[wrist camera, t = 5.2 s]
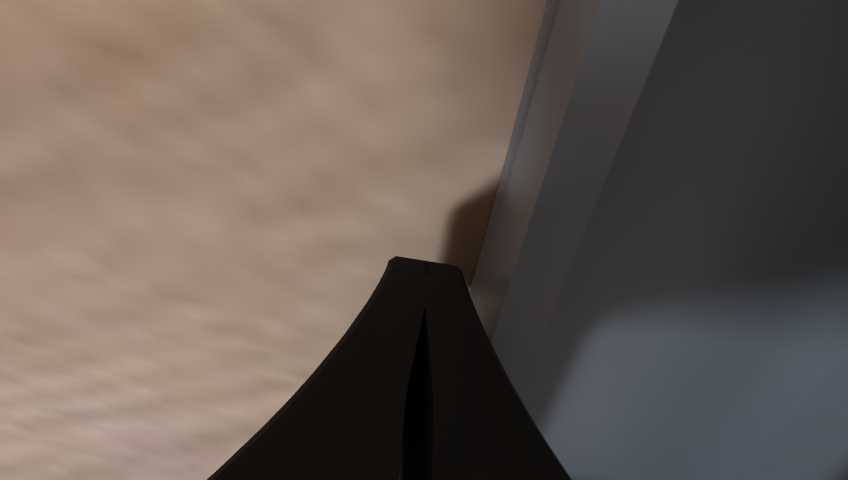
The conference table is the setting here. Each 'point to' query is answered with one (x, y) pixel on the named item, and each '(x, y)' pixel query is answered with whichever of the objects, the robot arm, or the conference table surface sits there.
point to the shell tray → (678, 240)
